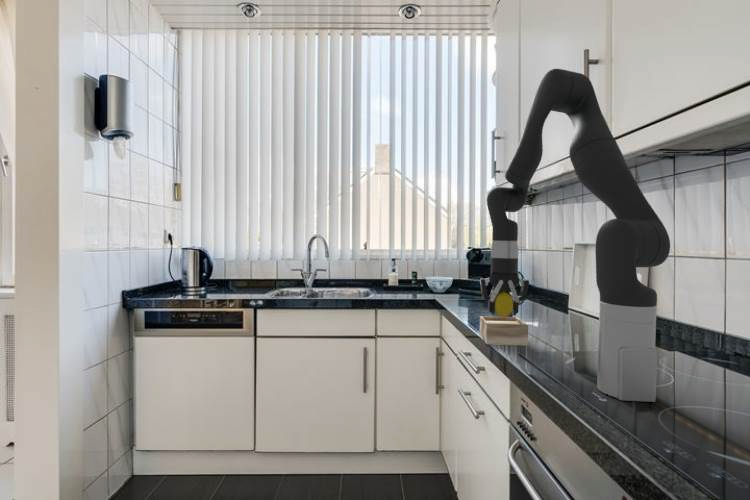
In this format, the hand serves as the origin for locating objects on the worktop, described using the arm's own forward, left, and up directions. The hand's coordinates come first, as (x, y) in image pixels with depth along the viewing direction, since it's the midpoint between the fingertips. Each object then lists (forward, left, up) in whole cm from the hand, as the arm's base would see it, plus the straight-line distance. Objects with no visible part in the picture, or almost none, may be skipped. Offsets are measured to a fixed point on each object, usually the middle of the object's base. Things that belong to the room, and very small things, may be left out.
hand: (503, 314), depth 117 cm
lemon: (0, 0, -1) cm, 1 cm away
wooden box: (0, 0, -8) cm, 8 cm away
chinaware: (+108, +10, -8) cm, 109 cm away
